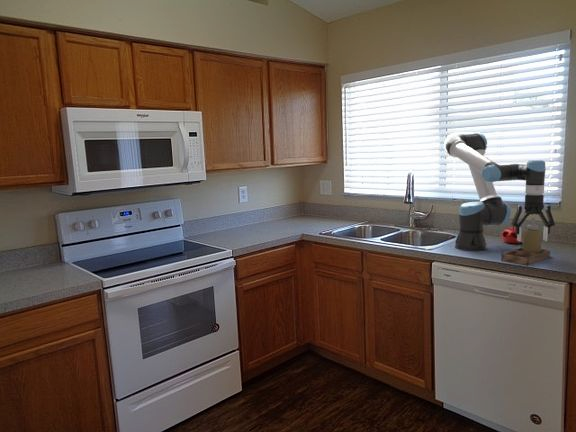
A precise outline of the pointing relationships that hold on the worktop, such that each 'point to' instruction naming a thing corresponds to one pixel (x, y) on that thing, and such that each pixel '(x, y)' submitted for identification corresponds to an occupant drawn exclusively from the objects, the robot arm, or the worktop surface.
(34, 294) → the worktop surface
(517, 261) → the organizer
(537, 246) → the squeeze bottle
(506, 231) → the pomegranate
